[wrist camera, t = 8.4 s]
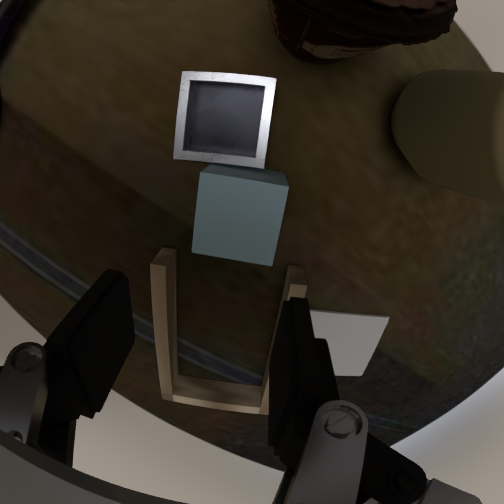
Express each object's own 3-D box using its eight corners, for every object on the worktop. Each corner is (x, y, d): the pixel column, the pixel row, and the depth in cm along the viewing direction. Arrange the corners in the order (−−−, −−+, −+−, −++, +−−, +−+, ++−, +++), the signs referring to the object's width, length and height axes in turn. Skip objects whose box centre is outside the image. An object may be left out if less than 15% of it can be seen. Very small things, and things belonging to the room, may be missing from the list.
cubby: (168, 378, 30) (162, 398, 28) (162, 247, 24) (150, 263, 21) (270, 393, 30) (270, 414, 28) (303, 266, 24) (307, 285, 21)
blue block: (206, 225, 23) (191, 252, 18) (215, 160, 21) (200, 172, 16) (271, 236, 23) (271, 266, 18) (284, 172, 21) (289, 187, 16)
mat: (289, 370, 29) (289, 372, 28) (307, 308, 25) (308, 310, 25) (360, 373, 29) (361, 375, 29) (388, 315, 25) (389, 317, 25)
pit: (181, 155, 20) (173, 159, 19) (190, 75, 18) (182, 71, 16) (263, 164, 20) (263, 168, 19) (275, 82, 18) (276, 78, 16)
